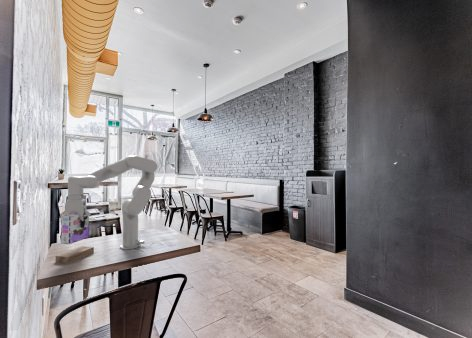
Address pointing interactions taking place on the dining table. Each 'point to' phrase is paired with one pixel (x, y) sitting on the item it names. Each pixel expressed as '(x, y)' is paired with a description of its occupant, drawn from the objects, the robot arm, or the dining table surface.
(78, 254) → the walnut plinth
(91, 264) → the dining table surface
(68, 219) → the candy box
